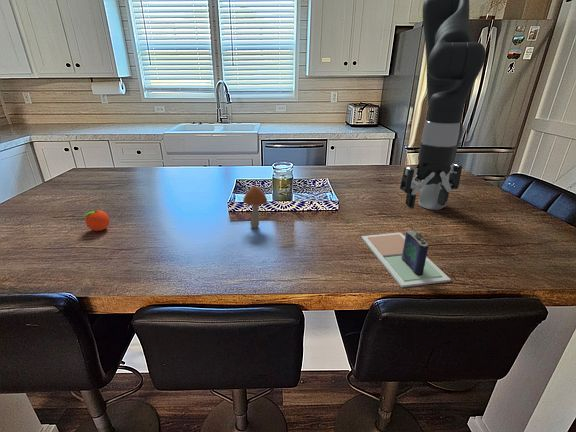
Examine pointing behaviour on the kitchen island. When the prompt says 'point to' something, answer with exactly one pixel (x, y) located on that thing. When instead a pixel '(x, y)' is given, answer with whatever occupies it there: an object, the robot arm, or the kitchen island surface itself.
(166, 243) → the kitchen island surface
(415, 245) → the flask
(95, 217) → the clementine
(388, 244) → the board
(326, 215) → the kitchen island surface
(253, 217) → the mushroom
